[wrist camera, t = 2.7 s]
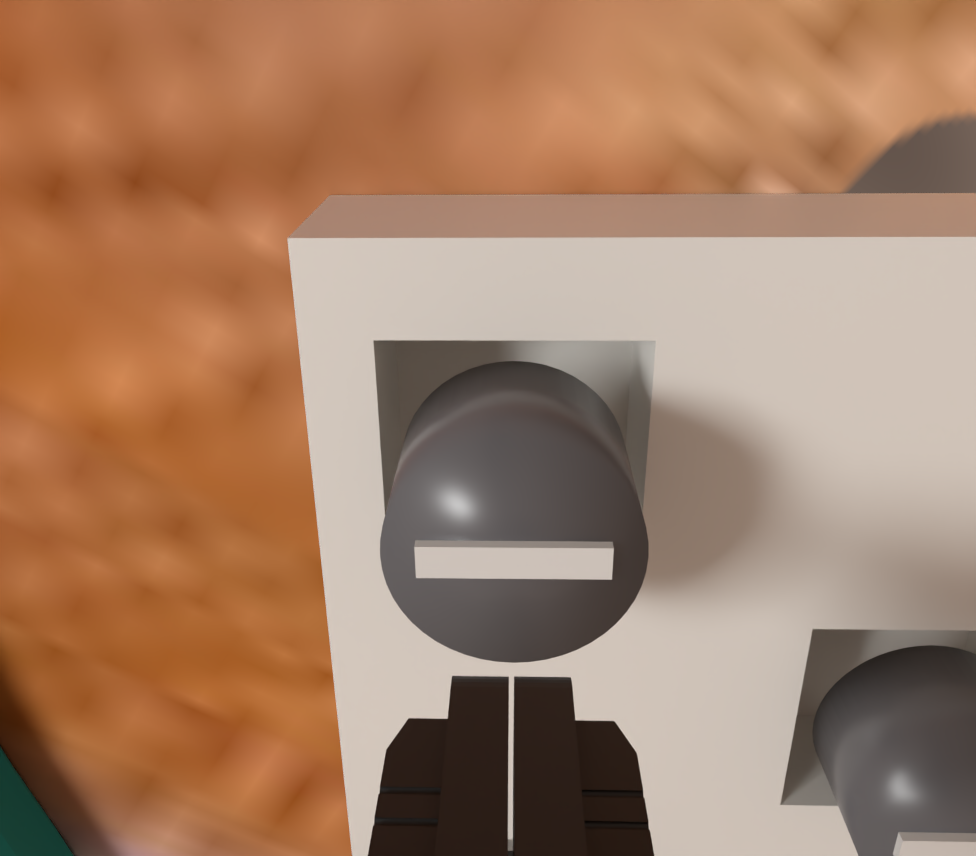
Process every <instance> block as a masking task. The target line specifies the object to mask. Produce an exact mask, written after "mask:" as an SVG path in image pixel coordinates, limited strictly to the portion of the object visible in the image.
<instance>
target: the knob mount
mask: <svg viewBox="0 0 976 856" xmlns="http://www.w3.org/2000/svg"><path fill="white" fill-rule="evenodd" d="M287 239H288V248H289V258H290V267H291V277H292V287H293V296H294V306H295V315H296V325H297V334H298V344H299V353H300V363H301V372H302V382H303V391H304V401H305V410H306V420H307V430H308V439H309V449H310V458H311V468H312V477H313V487H314V496H315V506H316V515H317V525H318V534H319V544H320V553H321V563H322V573H323V582H324V592H325V601H326V611H327V620H328V630H329V639H330V649H331V658H332V668H333V677H334V687H335V696H336V706H337V716H338V725H339V735H340V744H341V754H342V763H343V773H344V782H345V792H346V801H347V811H348V820H349V830H350V839H351V849H352V856H368V851H369V846H370V840H371V834H372V828H373V825H374V817H375V811H376V805H377V800H378V794H379V793H380V783H381V777H382V771H383V765H384V760H385V754H386V749H387V748H388V746H389V745H390V744H391V742H392V741H393V739H394V738H395V737H396V735H397V734H398V732H399V731H400V730H401V728H402V727H403V725H404V724H405V723H406V721H407V720H408V718H430V719H448V710H449V699H450V689H451V680H452V676H503V677H509V735H508V851H513V729H514V676H523V677H571V680H572V688H573V699H574V711H575V720H584V721H615V722H616V724H617V725H618V727H619V728H620V730H621V731H622V732H623V734H624V735H625V737H626V738H627V740H628V741H629V743H630V744H631V745H632V747H633V748H634V750H635V751H636V753H637V756H638V762H639V768H640V774H641V780H642V786H643V797H644V798H645V804H646V810H647V816H648V822H649V823H648V825H649V830H650V833H651V839H652V845H653V851H654V856H858V853H857V851H856V848H855V846H854V844H853V841H852V839H851V836H850V834H849V831H848V829H847V826H846V824H845V822H844V819H843V817H842V814H841V812H840V809H839V807H838V804H837V802H836V800H835V797H834V795H833V792H832V790H831V787H830V785H829V782H828V780H827V778H826V775H825V773H824V770H823V768H822V765H821V763H820V760H819V758H818V756H817V753H816V751H815V747H814V743H813V733H812V731H813V722H814V718H815V715H816V712H817V710H818V707H819V705H820V703H821V701H822V700H823V698H824V697H825V695H826V694H827V692H828V691H829V690H830V689H831V688H832V687H833V685H834V684H835V683H836V682H837V681H838V680H840V679H841V678H842V677H843V676H844V675H845V674H847V673H848V672H849V671H851V670H852V669H853V668H855V667H857V666H858V665H860V664H862V663H864V662H865V661H867V660H870V659H872V658H874V657H876V656H878V655H881V654H884V653H887V652H890V651H894V650H898V649H902V648H907V647H914V646H927V645H935V646H948V647H953V648H959V649H962V650H965V651H969V652H971V653H974V654H976V193H896V194H895V193H890V194H889V193H880V194H879V193H876V194H875V193H869V194H868V193H866V194H865V193H862V194H861V193H858V194H547V195H330V196H329V197H328V198H327V199H326V200H325V201H324V202H323V203H322V204H321V205H320V206H319V207H318V208H317V209H316V210H315V211H314V212H313V213H312V214H311V215H310V216H309V217H308V218H307V219H306V220H305V221H304V222H303V223H302V224H301V225H300V226H299V227H298V228H297V229H296V230H295V231H294V232H293V233H292V234H291V235H290V236H289V237H288V238H287ZM504 361H524V362H533V363H538V364H543V365H547V366H550V367H553V368H556V369H559V370H562V371H564V372H566V373H568V374H570V375H572V376H574V377H576V378H577V379H579V380H580V381H582V382H583V383H585V384H586V385H587V386H589V387H590V388H591V389H592V390H593V391H595V392H596V393H597V394H598V395H599V396H600V398H601V399H602V400H603V401H604V402H605V403H606V404H607V406H608V407H609V409H610V410H611V412H612V413H613V415H614V417H615V419H616V421H617V423H618V425H619V427H620V430H621V433H622V436H623V439H624V443H625V447H626V451H627V455H628V459H629V463H630V466H631V470H632V474H633V478H634V482H635V486H636V490H637V494H638V498H639V501H640V505H641V509H642V513H643V517H644V521H645V525H646V529H647V536H648V542H649V558H648V564H647V570H646V574H645V577H644V580H643V584H642V587H641V589H640V591H639V593H638V595H637V597H636V599H635V601H634V602H633V603H632V605H631V606H630V608H629V609H628V611H627V612H626V613H625V614H624V616H623V617H622V618H621V619H620V620H619V621H618V622H617V623H616V624H615V625H614V626H613V627H612V628H611V629H609V630H608V631H607V632H606V633H605V634H603V635H602V636H600V637H599V638H597V639H596V640H594V641H593V642H591V643H590V644H588V645H586V646H584V647H582V648H580V649H578V650H575V651H573V652H570V653H567V654H565V655H562V656H558V657H554V658H551V659H547V660H540V661H534V662H519V663H509V662H495V661H489V660H483V659H479V658H475V657H471V656H468V655H464V654H462V653H459V652H457V651H454V650H452V649H449V648H448V647H446V646H444V645H442V644H440V643H438V642H436V641H435V640H433V639H432V638H430V637H429V636H428V635H426V634H425V633H423V632H422V631H421V630H420V629H419V628H418V627H416V626H415V625H414V624H413V623H412V622H411V621H410V620H409V619H408V618H407V616H406V615H405V614H404V613H403V612H402V611H401V609H400V608H399V606H398V605H397V603H396V602H395V600H394V599H393V597H392V595H391V593H390V591H389V589H388V586H387V584H386V581H385V578H384V575H383V571H382V566H381V559H380V538H381V532H382V526H383V522H384V518H385V514H386V510H387V506H388V502H389V498H390V494H391V490H392V486H393V482H394V478H395V474H396V470H397V466H398V462H399V458H400V455H401V451H402V447H403V443H404V439H405V436H406V433H407V430H408V426H409V424H410V422H411V420H412V418H413V416H414V414H415V413H416V411H417V410H418V409H419V407H420V406H421V404H422V403H423V402H424V401H425V399H426V398H427V397H428V396H429V395H430V394H431V393H432V392H433V391H434V390H436V389H437V388H438V387H439V386H440V385H442V384H443V383H444V382H446V381H447V380H449V379H451V378H452V377H454V376H455V375H458V374H460V373H462V372H464V371H466V370H468V369H471V368H474V367H478V366H481V365H484V364H490V363H495V362H504Z"/></svg>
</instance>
